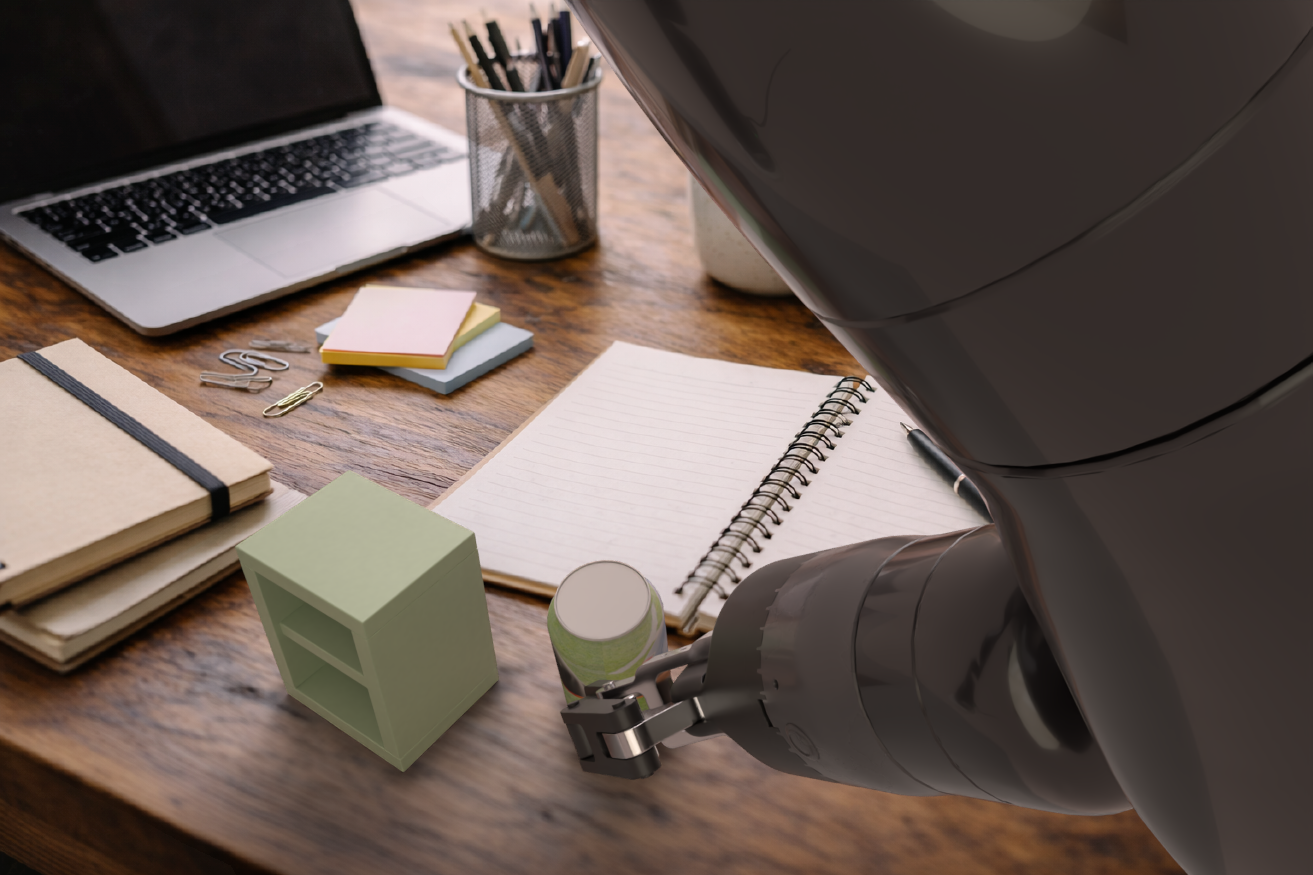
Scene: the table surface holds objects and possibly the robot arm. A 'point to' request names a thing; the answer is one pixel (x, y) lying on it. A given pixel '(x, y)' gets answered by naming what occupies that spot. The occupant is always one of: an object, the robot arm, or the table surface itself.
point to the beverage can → (604, 625)
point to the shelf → (374, 614)
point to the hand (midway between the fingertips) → (678, 666)
